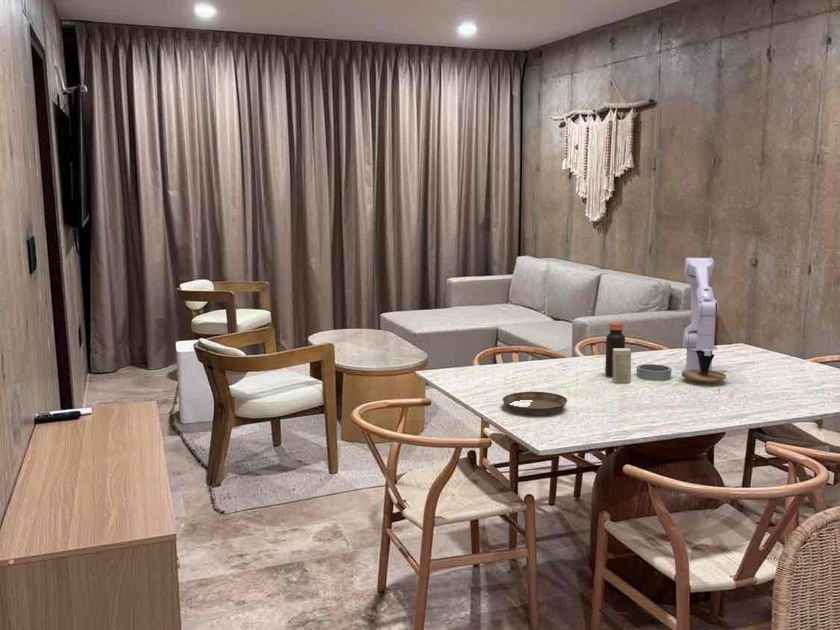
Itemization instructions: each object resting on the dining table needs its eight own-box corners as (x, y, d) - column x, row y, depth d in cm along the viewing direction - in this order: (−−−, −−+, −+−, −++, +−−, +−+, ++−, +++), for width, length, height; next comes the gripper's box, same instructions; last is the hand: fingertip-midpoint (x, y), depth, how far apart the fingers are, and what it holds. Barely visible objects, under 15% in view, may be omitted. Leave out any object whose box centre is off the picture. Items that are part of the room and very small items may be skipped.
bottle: (627, 376, 293) (629, 324, 290) (612, 378, 291) (614, 325, 288) (616, 372, 300) (618, 321, 296) (601, 374, 297) (603, 322, 294)
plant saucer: (489, 410, 251) (489, 400, 251) (524, 397, 267) (525, 387, 266) (545, 422, 238) (545, 411, 238) (578, 407, 254) (579, 397, 253)
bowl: (652, 373, 299) (652, 362, 298) (677, 379, 289) (678, 368, 288) (630, 377, 293) (630, 366, 292) (655, 383, 283) (655, 372, 282)
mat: (699, 376, 293) (699, 375, 293) (732, 384, 281) (732, 382, 281) (674, 381, 285) (674, 380, 285) (707, 389, 274) (707, 388, 273)
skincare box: (629, 380, 288) (630, 348, 286) (630, 383, 284) (632, 350, 282) (611, 380, 288) (612, 347, 286) (612, 383, 284) (614, 350, 282)
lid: (699, 369, 293) (700, 355, 292) (734, 377, 281) (735, 363, 280) (672, 375, 285) (673, 360, 284) (707, 383, 273) (708, 368, 272)
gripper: (720, 338, 272) (718, 376, 275) (714, 331, 286) (712, 367, 289) (699, 337, 274) (697, 375, 276) (694, 330, 288) (692, 366, 290)
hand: (703, 371), depth 283 cm, fingers closed on lid, 3 cm apart
